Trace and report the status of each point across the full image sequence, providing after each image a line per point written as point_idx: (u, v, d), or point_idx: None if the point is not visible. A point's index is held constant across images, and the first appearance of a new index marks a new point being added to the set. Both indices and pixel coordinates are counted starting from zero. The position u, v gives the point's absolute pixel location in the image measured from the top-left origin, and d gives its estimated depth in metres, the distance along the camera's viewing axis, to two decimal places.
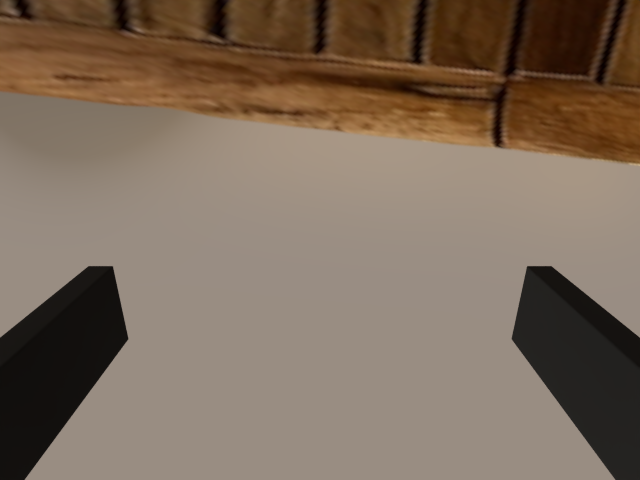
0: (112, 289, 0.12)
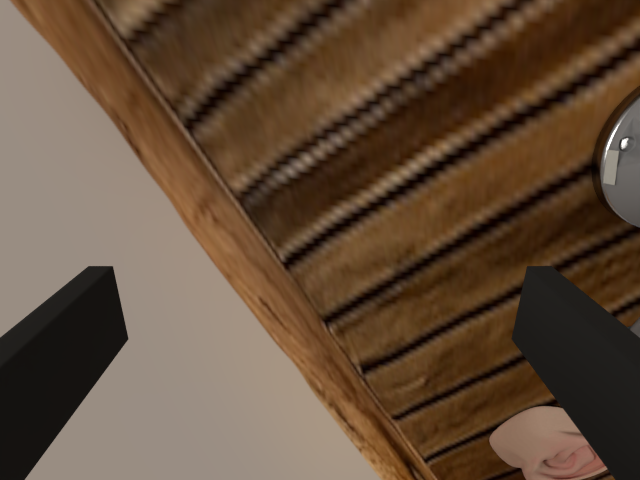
0: (112, 289, 0.12)
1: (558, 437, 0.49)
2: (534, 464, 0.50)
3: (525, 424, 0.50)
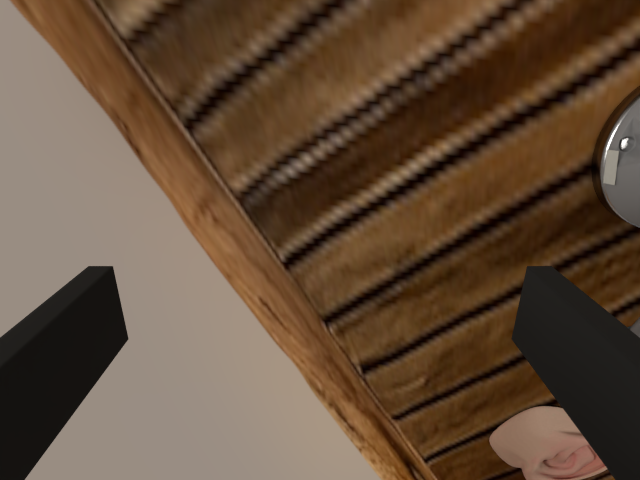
0: (112, 289, 0.12)
1: (558, 437, 0.49)
2: (534, 464, 0.50)
3: (525, 424, 0.50)
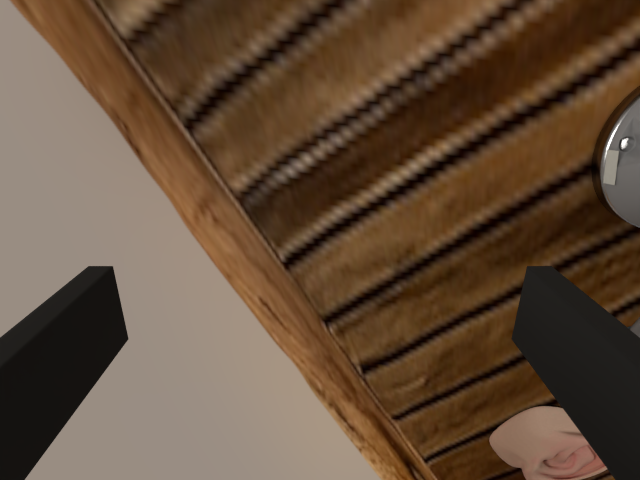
0: (112, 289, 0.12)
1: (558, 437, 0.49)
2: (534, 464, 0.50)
3: (525, 424, 0.50)
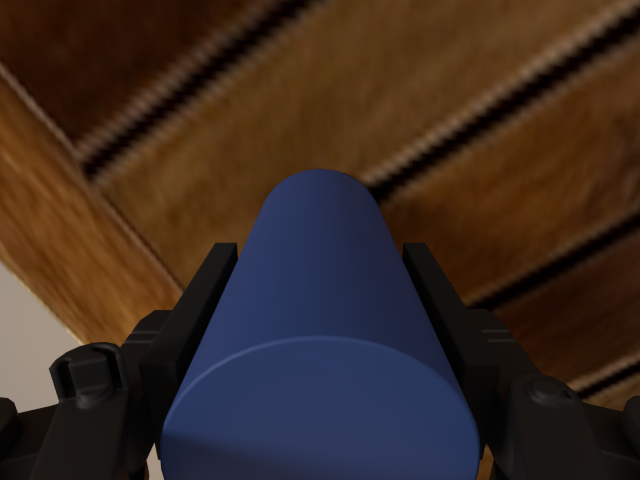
0: None
1: None
2: None
3: None
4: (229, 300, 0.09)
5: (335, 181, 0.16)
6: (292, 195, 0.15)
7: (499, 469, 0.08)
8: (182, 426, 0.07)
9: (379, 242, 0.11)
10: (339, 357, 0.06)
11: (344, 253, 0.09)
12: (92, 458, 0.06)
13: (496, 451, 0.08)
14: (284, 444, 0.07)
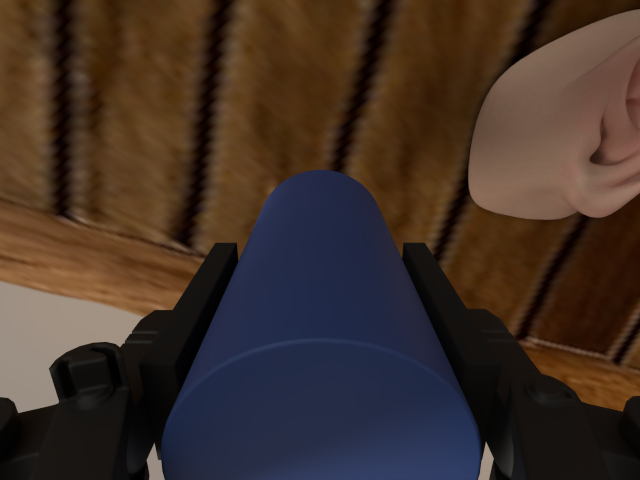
0: (236, 263, 0.14)
1: (573, 94, 0.22)
2: (573, 177, 0.23)
3: (499, 125, 0.24)
4: (230, 302, 0.09)
5: (335, 182, 0.16)
6: (293, 196, 0.15)
7: (499, 469, 0.08)
8: (183, 428, 0.07)
9: (380, 243, 0.11)
10: (340, 359, 0.06)
11: (345, 255, 0.09)
12: (92, 458, 0.06)
13: (496, 451, 0.08)
14: (286, 446, 0.07)
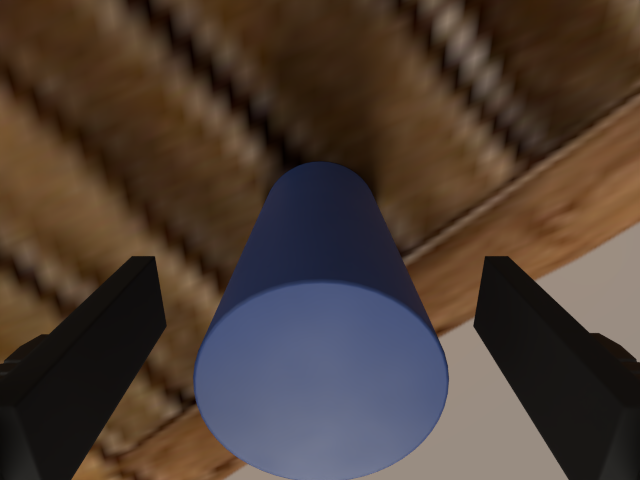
0: (154, 278, 0.13)
1: None
2: None
3: None
4: (246, 263, 0.11)
5: (334, 171, 0.18)
6: (296, 183, 0.17)
7: None
8: (212, 354, 0.09)
9: (371, 220, 0.13)
10: (336, 296, 0.08)
11: (341, 226, 0.11)
12: None
13: None
14: (293, 370, 0.09)
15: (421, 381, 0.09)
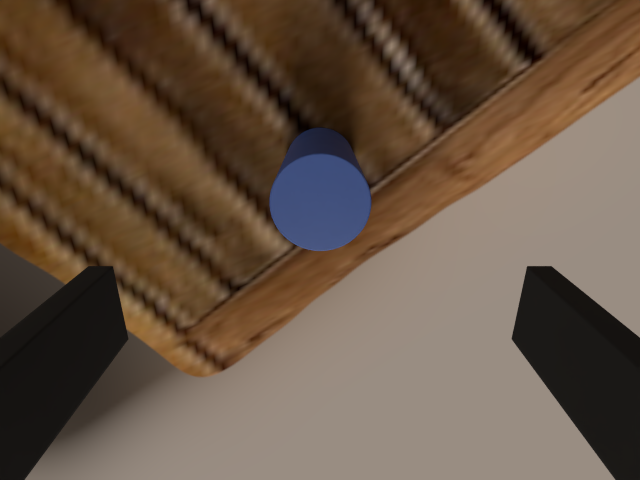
0: (112, 289, 0.12)
1: None
2: None
3: None
4: (287, 159, 0.25)
5: (328, 131, 0.32)
6: (307, 135, 0.31)
7: None
8: (278, 186, 0.23)
9: (345, 147, 0.27)
10: (326, 160, 0.22)
11: (329, 145, 0.25)
12: None
13: None
14: (309, 193, 0.23)
15: (360, 198, 0.23)
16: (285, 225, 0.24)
